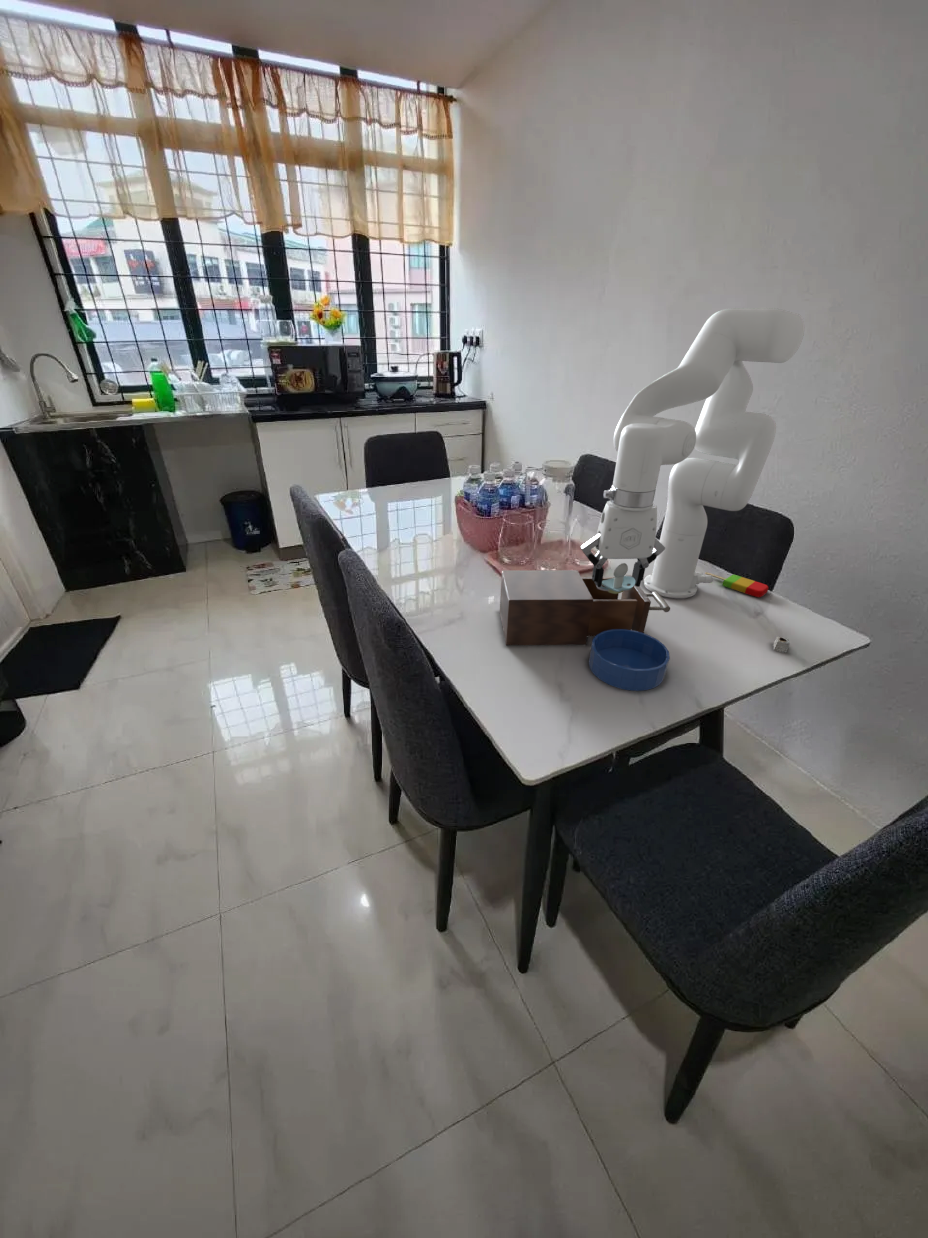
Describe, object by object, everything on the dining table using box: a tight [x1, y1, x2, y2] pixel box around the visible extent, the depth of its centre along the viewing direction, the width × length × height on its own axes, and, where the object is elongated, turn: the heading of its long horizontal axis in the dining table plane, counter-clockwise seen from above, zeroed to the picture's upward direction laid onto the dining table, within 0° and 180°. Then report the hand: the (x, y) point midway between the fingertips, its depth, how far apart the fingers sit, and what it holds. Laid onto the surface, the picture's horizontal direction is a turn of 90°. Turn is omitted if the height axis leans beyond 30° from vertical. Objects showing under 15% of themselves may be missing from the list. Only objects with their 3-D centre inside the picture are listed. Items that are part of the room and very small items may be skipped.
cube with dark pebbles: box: [772, 635, 791, 654], centre depth 102 cm, size 2×2×2 cm
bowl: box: [588, 629, 671, 692], centre depth 95 cm, size 14×14×4 cm
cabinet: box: [499, 569, 593, 646], centre depth 106 cm, size 17×14×11 cm
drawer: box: [581, 574, 671, 637], centre depth 107 cm, size 21×12×9 cm, turn 92°
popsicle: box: [704, 571, 769, 598], centre depth 128 cm, size 6×15×2 cm, turn 43°
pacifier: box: [597, 562, 635, 594], centre depth 99 cm, size 7×6×6 cm
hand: (616, 583), depth 100 cm, fingers closed on pacifier, 7 cm apart
